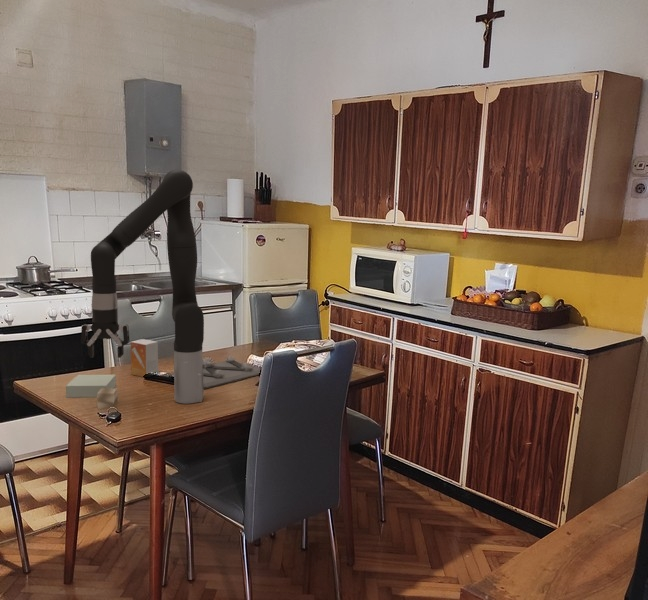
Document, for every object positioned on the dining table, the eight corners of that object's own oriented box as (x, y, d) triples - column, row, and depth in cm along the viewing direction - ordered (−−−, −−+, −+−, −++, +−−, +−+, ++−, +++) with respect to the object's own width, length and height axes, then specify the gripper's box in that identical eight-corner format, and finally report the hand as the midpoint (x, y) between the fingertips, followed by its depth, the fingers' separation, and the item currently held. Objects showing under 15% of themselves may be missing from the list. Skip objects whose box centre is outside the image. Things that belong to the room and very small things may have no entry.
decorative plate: (204, 391, 205) (203, 372, 204) (169, 379, 219) (168, 360, 218) (266, 375, 227) (266, 357, 226) (231, 364, 241) (230, 347, 240)
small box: (131, 374, 221) (130, 341, 219) (143, 371, 226) (142, 338, 224) (146, 378, 217) (145, 344, 215) (158, 374, 223) (158, 341, 220)
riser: (116, 385, 208) (115, 374, 207) (106, 397, 195) (106, 385, 194) (78, 385, 206) (77, 374, 206) (66, 397, 193) (65, 385, 193)
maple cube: (117, 403, 190) (117, 388, 189) (113, 408, 185) (113, 393, 184) (101, 403, 189) (101, 388, 188) (97, 408, 184) (97, 393, 183)
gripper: (130, 305, 186) (131, 354, 189) (84, 304, 185) (86, 354, 187) (125, 309, 179) (126, 360, 181) (77, 308, 177) (79, 360, 180)
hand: (105, 357), depth 184 cm, fingers open, 8 cm apart
